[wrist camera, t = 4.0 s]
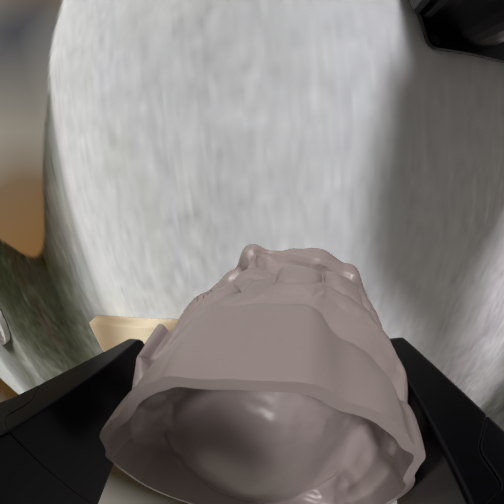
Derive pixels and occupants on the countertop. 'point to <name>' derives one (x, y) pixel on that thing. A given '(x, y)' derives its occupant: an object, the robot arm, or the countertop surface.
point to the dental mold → (271, 393)
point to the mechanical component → (3, 330)
